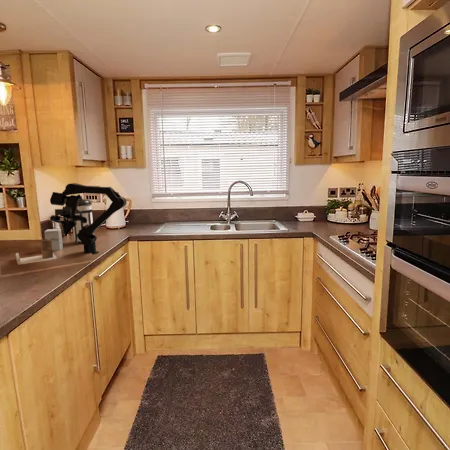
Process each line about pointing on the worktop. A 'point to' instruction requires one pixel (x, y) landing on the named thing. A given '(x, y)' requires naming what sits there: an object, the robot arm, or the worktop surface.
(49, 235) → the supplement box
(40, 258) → the white shallow tray
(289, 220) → the worktop surface
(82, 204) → the coffee press
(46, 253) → the block
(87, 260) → the worktop surface
